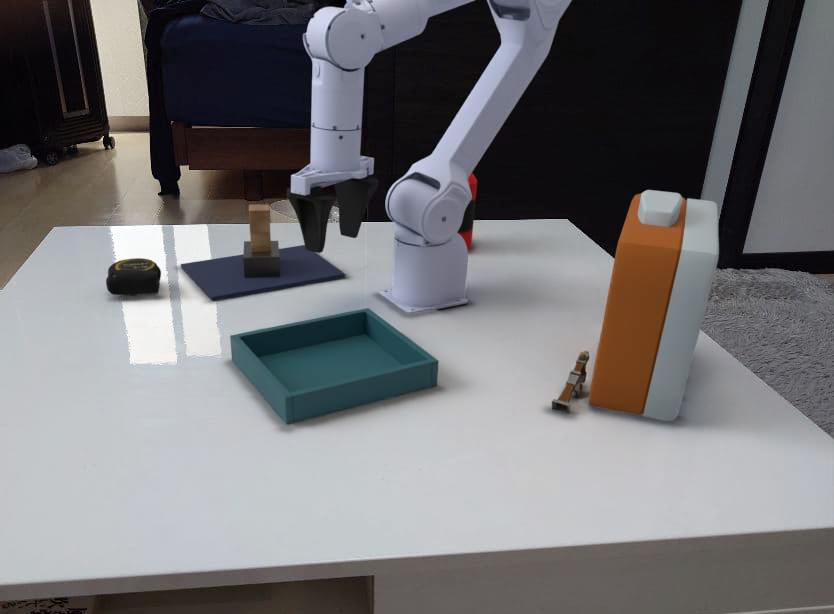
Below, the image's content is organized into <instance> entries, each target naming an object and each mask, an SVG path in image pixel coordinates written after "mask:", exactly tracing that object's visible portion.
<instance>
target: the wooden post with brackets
mask: <svg viewBox="0 0 834 614" xmlns="http://www.w3.org/2000/svg"><path fill="white" fill-rule="evenodd" d="M589 361H590V352H589V351H588V350H583V351H580V352H579V355H578V358H577V359H576V360H575V366H574V368H573V369H571V371H570V373H569V376H568V378H567V380H566V381H565V386H564V389H563V390H562V392H561V393H560V395H559V396H558V397H557V399H556V398H553V399H552V400H551V409H552V410H553V409H559V410H563V411H565V412H568V413H570V412H571V403H570V401H571V398H575V397H579V396H580V395H579V394H580V391H582V390H583V384H585V382H586V381H587V374H588V373H587V372H588V371H587V364H588V363H589Z"/></svg>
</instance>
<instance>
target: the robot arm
mask: <svg viewBox="0 0 834 614" xmlns="http://www.w3.org/2000/svg"><path fill="white" fill-rule="evenodd" d="M474 1H475V0H346V3H345V5H344V6H343V7H338V6H337V7H336V6H325V7H322V8H320V9H318V11H316V12H315V13H314V14H313V17H312V18H310V20H309V22H308V24H307V29H306V32H305V33H303V34H302V41H303V46H304V48H305V51H306V53H307V54H308V56H309V57H310V59H311V63H312V70H311V71H312V76H311V108H310V109H311V111H310V112H311V113H310V116H311V117H310V159H309V160H310V163H309V164H307V165H306V166H305V167H303V168H302V169H301V170H300V171H298V172H296V173H293V174H291V175H290V187H287V189H286V198H287V200H288V201H289V203H290V205H291V206H292V209H293V210H294V213H295V216H296V217H297V220H298V223H299V228H300V230H301V235H302V238H303V243H304V244H303V245H305V248H306V250H309V251H313V252H315V253H317V254H321V253H323V252H324V249H325V245H326V239H327V231H328V230H327V229H328V223H329V219H330V215H331V212H332V209H333V206H334V204H335V203H336V200H337V205H338V225H339V232H340V233H339V234H340V236H342V237H343V236H344V237H347V238H352V239H356V238H357V237H358V235H359V233H360V229H361V226H362V223H363V219H364V215H365V212H366V210H367V208H368V205H369V203H370V201H371V198H373V197H372V196H373V195H374V193H375V192H376V190H377V189H378V188H379V179H377V178H375V177H371V175H374V166H375V158H374V157H369V156H364V155H361V145H362V144H361V143H362V126H363V125H362V124H363V123H362V122H363V106H364V83H365V67H366V66H367V65H368V64H369V63H370V62H371V61H372V59H373V57H374V56H375V54H377V53H380V52H382V51H384V50H387V49H389V48H391V47H393V46H396V45H398V44H400V43H402V42H405V41H407V40H410V39H412V38H415V37H416V36H419V35H421V34H422V33H423V32H424V30H425V29H426V26H427V23H428V20H429V18H431V17H433V16H436V15H439V14H442V13H444V12H447V11H450V10H453V9H456V8H458V7H460V6H463V5H466V4H469V3H471V2H474ZM486 1H487V5H488V6H489V9H490V12H491V16H492V18H493V20H494V23H495V25H496V28H497V30H498V32H499V34H500V41H501V44H500V46H499V47H498V49H497V51H496V53H495V54H494V56H493V57H492V58H491V60H490V61H489V63H488V65H487V66H486V68H485V69H484V71H483V72H482V74H481V75H480V78H479V79H478V81H477V82H476V83H475V85H474V87H473V89H472V90H471V91H470V93H469V95H468V96H467V98H466V99H465V101H464V102H463V104H462V106H461V108H460V109H459V111H458V112H457V113H456V115H455V117H454V119H453V120H452V121H451V123H450V125H449V126H448V127H447V129H446V131H445V133H444V134H443V135H442V138H440V140H439V142H438V143H437V145H436V147H435V149H434V150H433V151H432V153H431V154H430V155H428V156H426V157H424V158H422V159H420V160H418V161H416V162H415V163H413V164H412V165H411V166H410V168H409V169H408V171H407V172H406V173H405V174H404V175H403V176H402V177H400V178H398V180H396V181H395V182H394V183H393V184H392V185H391V186H390V188H389V190H388V191H387V193H386V197H385V202H384V203H385V205H384V206H385V211H386V215H387V216H388V218H389V219H390V220H391V221H392V222H393V231H394V236H393V262H392V284H391V285H392V287H391V288H390V289H385V290H384V289H383V290H380V291H379V294H380V295H381V296H383V297H384V298H386V299H387V300H388V301H390V302H391V303H392V304H394V305H395V306H397V307H398V308H400V309H401V310H403V312H405V313H407V314H414V313H419V312H425V311H428V310H434V309H435V310H442V309H445V308H450V307H456V306H460V305H465V304H468V301H469V300H468V298H466V297H465V295H466V285H467V276H468V263H469V252H468V251H469V250H467V246H466V243H465V241H464V239H463V238H462V236H461V235H460V234H458V233H457V232H458V230H459V228H460V226H461V224H462V221H463V216H464V212H465V209H466V207H467V205H468V204H469V202H470V201H471V199H472V194H471V190H470V187H469V183H468V177H469V176H470V174H471V173H473V171H474V170H475V168H476V167H477V165H478V163H479V162H480V160H481V159H482V158H483V156H484V154H485V153H486V151H487V150H488V148H489V147H490V145H491V144H492V142H493V140H494V139H495V137H496V135H497V134H498V133H499V132H500V130H501V128H502V127H503V125H504V123H505V122H506V120H507V119H508V117H509V116H510V114H511V113H512V111H513V109H514V108H515V107H516V105H517V103H518V102H519V100H520V99H521V97H522V96H523V94H524V93H525V91H526V89H527V88H528V86H529V84H530V83H531V82H532V80H533V79H534V77H535V76H536V75H537V72H538V71H539V69H540V68H541V66H542V65H543V63H544V61H545V60H546V58H547V56H548V55H549V53H550V51H551V47H552V44H553V41H554V37H555V35H556V31H557V28H558V25H559V21H560V19H561V18H562V16H563V15H564V13H565V12H566V10H567V9H568V7H569V6H570V4H571V2H572V1H573V0H486ZM332 185H333V186H334V189H335V193H336V196H333V195H329V194H325V191H323V190H322V189H323V188H325V187H328V186H332Z"/></svg>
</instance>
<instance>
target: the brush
mask: <svg viewBox="0 0 834 614" xmlns="http://www.w3.org/2000/svg"><path fill="white" fill-rule="evenodd" d="M248 219H249V220H248V221H249V236H250V240H245V241H243V254H242V255H243V262H244V277H245V278H253V277H280V263H279V249H280V248H279V247H280V246H279V245H280V244H279V240H272V239H271V237H272V236H271V219H270V204H268V203H267V204H249V205H248Z"/></svg>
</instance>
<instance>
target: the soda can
mask: <svg viewBox="0 0 834 614" xmlns="http://www.w3.org/2000/svg"><path fill="white" fill-rule="evenodd" d="M468 183H469V187H470V190H471V194H472V199H471V201H470V202H469V204H468V205H467V207H466V209H465V212H464V216H463V221H462V224H461V226H460V228H459V230H458V232H457V233H458V234H460V235H461V236H462V238H463V239H464V241H465V243H466V246H467V251H469V250H470V249H471V248H472V242H473V231H474V220H475V210H476V198H477V188H478V179H477V178H476V176H475V174H474V173H473V172H472V173H471V174H470V176H469V177H468Z"/></svg>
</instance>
